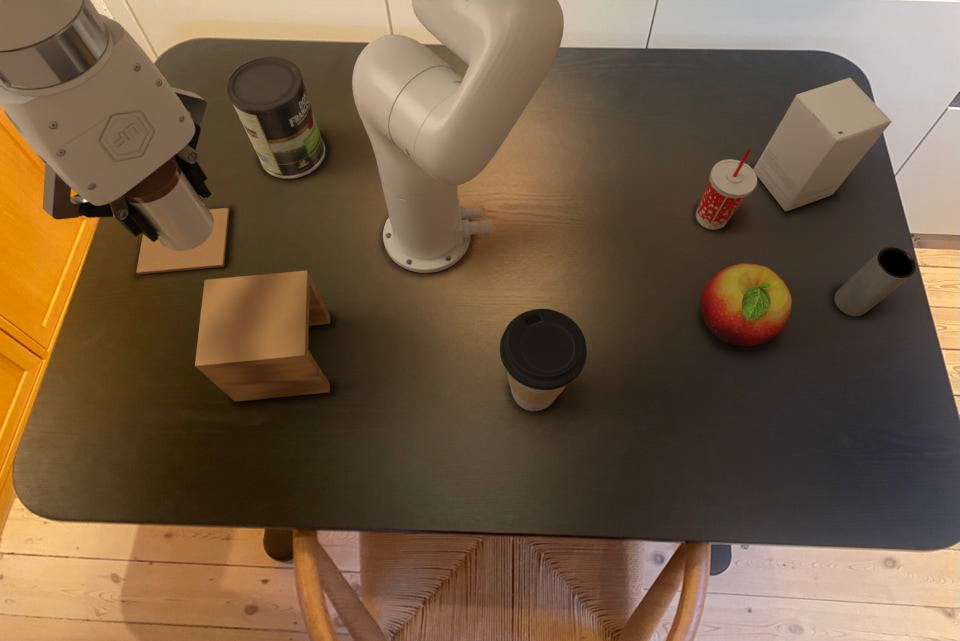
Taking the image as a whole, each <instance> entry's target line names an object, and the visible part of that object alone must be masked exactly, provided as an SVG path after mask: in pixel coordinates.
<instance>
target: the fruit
mask: <svg viewBox="0 0 960 641" xmlns="http://www.w3.org/2000/svg"><path fill="white" fill-rule="evenodd" d="M700 297H701V298H700V303H699V304H700V312H701V317H702V319H703V321H704V323H705V326H706V327H707V328H708V329H709V330H710V332H711V333H712V334H713V335H714V336H715V337H716V338H719V339H720V340H721V341H723V342H725V343H726V344H731V345H733V346H737V347H755V346H759V345H762V344H765V343H767V342H769V341H770V340H772V339H773V338H775V337H776V336H778V335H779V334H780V333H781V331H783V328H784V327H785V326H786V324H788V322H789V319H790V315H791V311H792V306H793V305H792V304H793V299H792V295H791V292H790V289H789V288H788V286H787V285H786V283H785V281H784V280H783V279H782V278H781V277H780V276H779V275H778V274H777V273H776V272H775V271H773V270H772V269H771V268H769V267H768V266H763V265H760V264H756V263H738V264H734V265H733V264H732V265H729V266H727V267H725V268H723V269H721V270H720V271H718V272H716V273H715V274H713V276H711V278H710V279H709V280H708V282H707V283H706V285H705V286H704V288H703V291H702V294H701V296H700Z"/></svg>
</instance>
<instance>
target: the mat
mask: <svg viewBox="0 0 960 641" xmlns="http://www.w3.org/2000/svg"><path fill="white" fill-rule="evenodd" d="M208 209H209V211H210V212H211V214H212V216H213V218H214V228H213V231H212V233H211V235H210V236H209V238H208V239H207V240H206V241H205V242H204V243H202V244H201V245H199V246H197V247H195V248H193V249H190V250H185V251H175V250H171V249H168V248H166V247H165V246H164V245H163V244H162V243H161V242H160V241H159V240H158V239H157V240H156V241H155V242H153V241H151V240H150V239H149V238H148V237H146V236H145V235H144V234H143V233H142V237H141V244H140V250H139V254H138V261H137V266H136V271H135V272H136V274H137V275H150V274H160V273H172V272H183V271H192V270H204V269H214V268H224V267H225V263H226V261H225V260H226V252H227V242H228V234H229V233H228V232H229V224H230V223H229V222H230V220H229V219H230V212H231V210H230V208H229V207H223V208H221V207H220V208H208Z"/></svg>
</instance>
